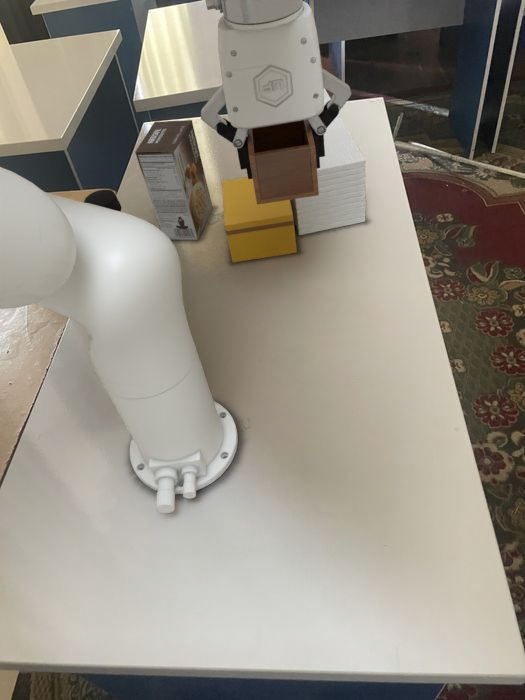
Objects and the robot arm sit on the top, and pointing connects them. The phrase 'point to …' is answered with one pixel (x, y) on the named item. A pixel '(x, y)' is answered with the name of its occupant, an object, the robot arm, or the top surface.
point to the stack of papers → (334, 184)
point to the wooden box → (283, 162)
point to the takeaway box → (256, 223)
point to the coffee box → (175, 179)
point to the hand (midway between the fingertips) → (283, 166)
